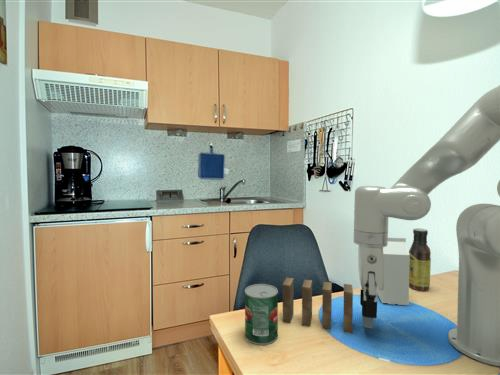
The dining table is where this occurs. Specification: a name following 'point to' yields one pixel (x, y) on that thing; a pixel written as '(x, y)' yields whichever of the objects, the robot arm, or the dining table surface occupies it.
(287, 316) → the walnut domino
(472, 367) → the dining table surface
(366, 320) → the charcoal domino
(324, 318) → the walnut domino
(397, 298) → the milk carton
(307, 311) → the walnut domino
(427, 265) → the sauce bottle
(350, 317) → the walnut domino
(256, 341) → the canned tomato
